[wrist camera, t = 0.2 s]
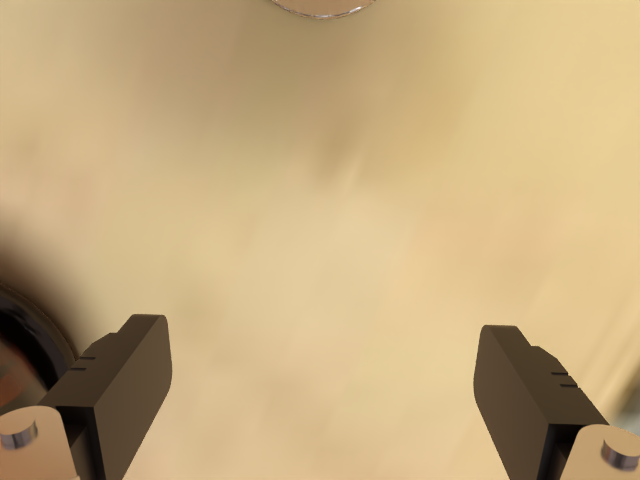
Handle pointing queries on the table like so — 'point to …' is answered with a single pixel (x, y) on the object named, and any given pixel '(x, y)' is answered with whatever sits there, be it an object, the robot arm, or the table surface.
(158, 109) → the table surface
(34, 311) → the amphora vase
